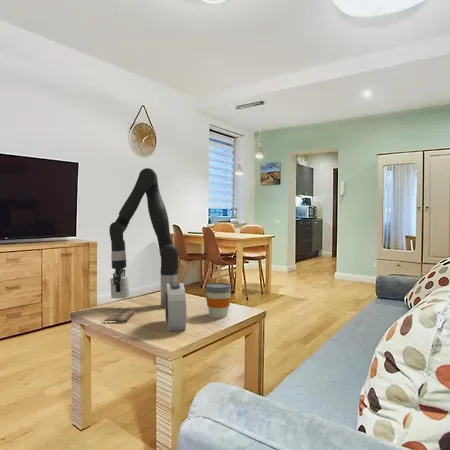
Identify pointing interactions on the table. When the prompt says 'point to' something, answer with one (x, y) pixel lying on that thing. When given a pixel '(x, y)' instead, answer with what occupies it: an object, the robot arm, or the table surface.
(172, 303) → the alarm clock
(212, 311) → the reusable coffee cup
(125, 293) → the small box
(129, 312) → the walnut board
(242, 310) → the table surface
